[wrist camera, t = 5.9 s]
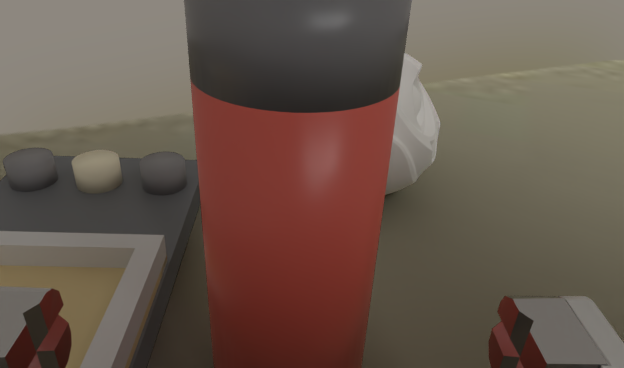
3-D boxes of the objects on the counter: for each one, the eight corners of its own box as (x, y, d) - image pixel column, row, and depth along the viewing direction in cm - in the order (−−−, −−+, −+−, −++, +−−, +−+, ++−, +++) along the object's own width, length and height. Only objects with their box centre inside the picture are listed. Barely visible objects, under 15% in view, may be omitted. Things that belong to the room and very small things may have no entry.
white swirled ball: (416, 243, 22) (447, 75, 18) (259, 208, 24) (257, 49, 20) (435, 165, 29) (461, 29, 25) (311, 142, 31) (317, 13, 27)
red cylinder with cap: (365, 453, 14) (439, -2, 8) (204, 452, 14) (155, -15, 8) (351, 332, 18) (394, -37, 12) (225, 330, 18) (203, -46, 11)
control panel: (50, 660, 10) (20, 607, 9) (-429, 663, 10) (-530, 608, 8) (207, 180, 26) (204, 139, 25) (32, 175, 26) (21, 133, 25)
